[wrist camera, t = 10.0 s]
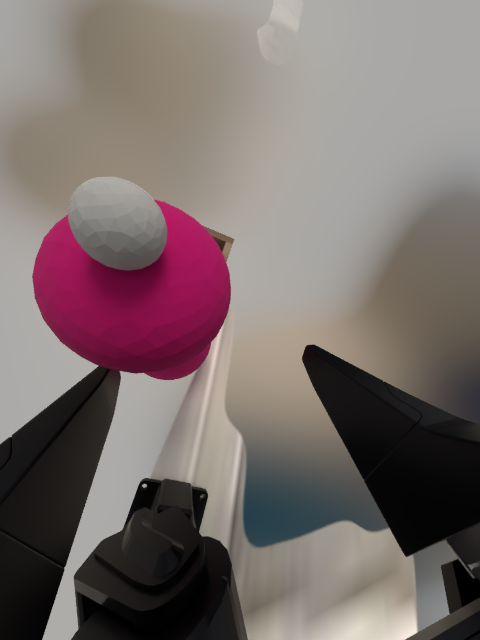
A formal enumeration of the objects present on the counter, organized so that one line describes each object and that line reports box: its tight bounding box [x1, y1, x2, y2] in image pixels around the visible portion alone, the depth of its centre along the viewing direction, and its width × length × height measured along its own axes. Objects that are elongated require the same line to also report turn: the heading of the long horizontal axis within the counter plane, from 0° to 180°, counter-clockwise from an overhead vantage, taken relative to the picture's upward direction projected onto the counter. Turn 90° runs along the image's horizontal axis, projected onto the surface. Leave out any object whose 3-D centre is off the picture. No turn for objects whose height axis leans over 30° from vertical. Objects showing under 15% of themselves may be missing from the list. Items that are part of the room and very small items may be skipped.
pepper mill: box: [32, 177, 231, 380], centre depth 13 cm, size 7×7×20 cm
